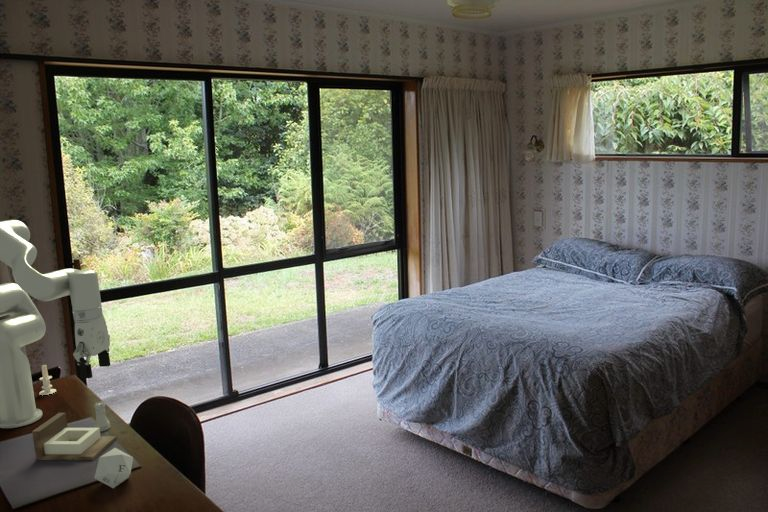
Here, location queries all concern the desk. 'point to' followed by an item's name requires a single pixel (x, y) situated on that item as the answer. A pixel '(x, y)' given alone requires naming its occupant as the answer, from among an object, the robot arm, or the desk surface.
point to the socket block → (64, 446)
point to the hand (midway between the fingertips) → (96, 371)
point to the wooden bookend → (59, 424)
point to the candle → (46, 382)
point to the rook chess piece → (101, 417)
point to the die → (114, 467)
